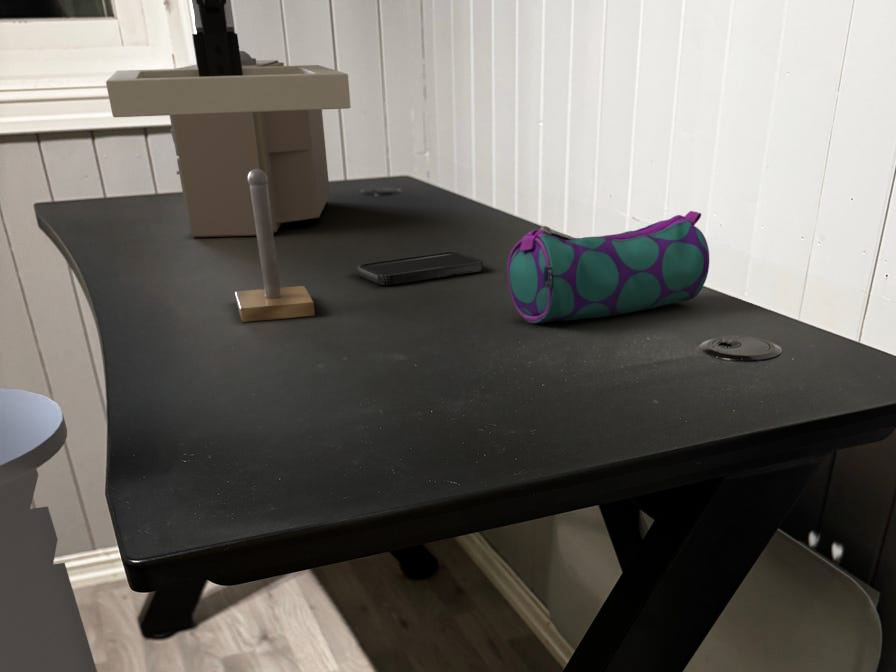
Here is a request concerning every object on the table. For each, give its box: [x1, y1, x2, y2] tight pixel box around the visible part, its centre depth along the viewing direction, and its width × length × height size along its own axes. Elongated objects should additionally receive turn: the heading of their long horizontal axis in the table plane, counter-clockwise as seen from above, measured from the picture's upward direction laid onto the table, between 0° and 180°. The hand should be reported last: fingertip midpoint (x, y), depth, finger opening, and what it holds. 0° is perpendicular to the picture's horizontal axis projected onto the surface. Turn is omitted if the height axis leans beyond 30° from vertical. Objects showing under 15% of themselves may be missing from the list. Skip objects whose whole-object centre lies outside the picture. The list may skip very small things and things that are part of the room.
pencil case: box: [506, 210, 710, 324], centre depth 101 cm, size 21×9×10 cm, turn 115°
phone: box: [357, 251, 484, 286], centre depth 120 cm, size 8×1×15 cm
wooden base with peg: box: [234, 169, 316, 323], centre depth 103 cm, size 8×8×14 cm
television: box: [169, 50, 331, 238], centre depth 147 cm, size 36×20×40 cm, turn 3°
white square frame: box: [105, 64, 351, 118], centre depth 66 cm, size 15×15×2 cm
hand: (222, 93), depth 72 cm, fingers closed on white square frame, 1 cm apart
